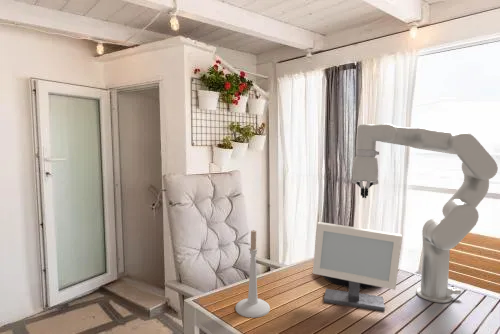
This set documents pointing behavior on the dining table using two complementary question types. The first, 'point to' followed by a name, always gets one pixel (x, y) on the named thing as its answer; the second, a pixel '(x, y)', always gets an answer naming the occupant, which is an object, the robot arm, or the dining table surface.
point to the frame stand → (354, 298)
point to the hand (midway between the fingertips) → (364, 197)
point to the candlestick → (252, 289)
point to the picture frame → (357, 254)
